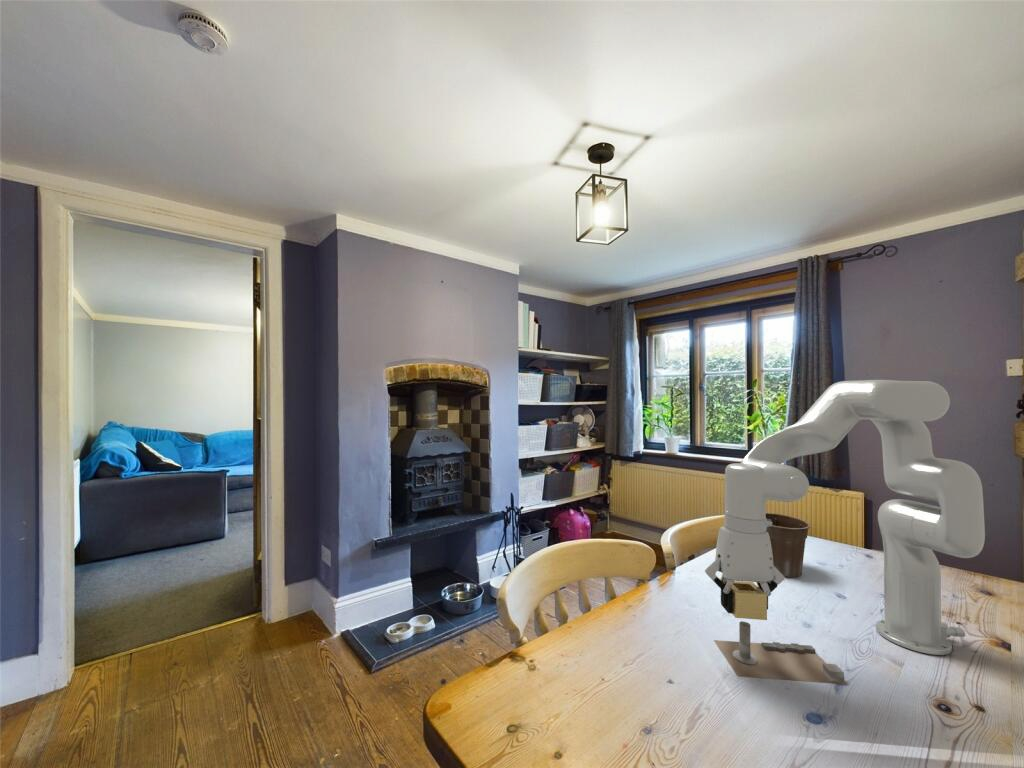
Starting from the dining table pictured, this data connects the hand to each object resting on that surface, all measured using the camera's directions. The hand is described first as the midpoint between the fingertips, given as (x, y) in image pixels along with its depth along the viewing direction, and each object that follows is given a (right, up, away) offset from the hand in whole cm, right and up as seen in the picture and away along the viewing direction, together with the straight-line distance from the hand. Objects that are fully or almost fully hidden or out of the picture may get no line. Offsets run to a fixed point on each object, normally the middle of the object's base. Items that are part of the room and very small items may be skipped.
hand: (744, 610), depth 87 cm
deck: (+6, -11, -1) cm, 13 cm away
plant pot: (+38, -13, +47) cm, 62 cm away
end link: (0, 0, 0) cm, 0 cm away
